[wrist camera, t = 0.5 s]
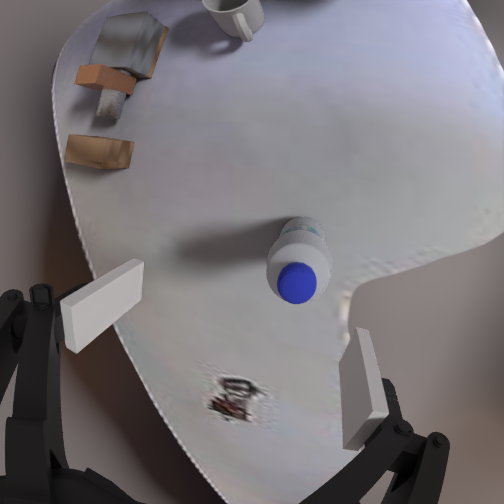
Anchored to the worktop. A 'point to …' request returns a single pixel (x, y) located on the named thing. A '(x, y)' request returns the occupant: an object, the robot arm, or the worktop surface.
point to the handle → (107, 87)
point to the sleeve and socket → (127, 57)
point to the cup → (237, 16)
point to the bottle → (299, 262)
